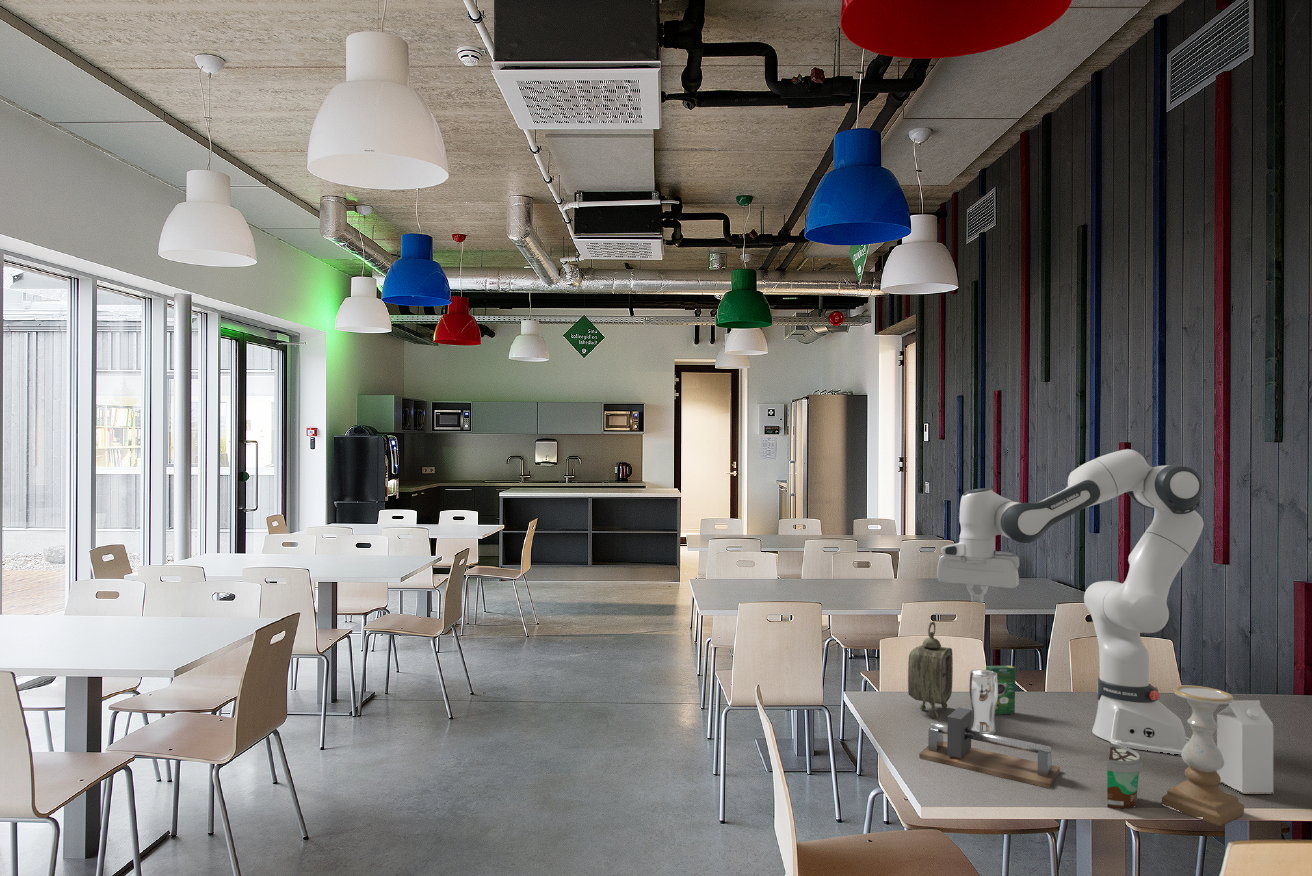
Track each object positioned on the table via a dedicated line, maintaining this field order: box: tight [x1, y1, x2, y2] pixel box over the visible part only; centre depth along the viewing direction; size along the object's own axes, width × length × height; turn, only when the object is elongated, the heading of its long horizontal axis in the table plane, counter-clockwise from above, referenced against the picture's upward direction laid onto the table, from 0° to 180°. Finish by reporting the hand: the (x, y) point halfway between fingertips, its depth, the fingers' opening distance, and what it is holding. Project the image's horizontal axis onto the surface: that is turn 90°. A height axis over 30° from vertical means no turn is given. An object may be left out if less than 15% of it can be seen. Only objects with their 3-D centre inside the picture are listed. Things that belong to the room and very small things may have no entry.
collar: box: [946, 706, 972, 759], centre depth 190 cm, size 3×9×9 cm, turn 144°
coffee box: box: [985, 665, 1017, 716], centre depth 224 cm, size 8×3×13 cm, turn 103°
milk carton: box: [1216, 699, 1274, 793], centre depth 175 cm, size 7×7×19 cm
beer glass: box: [968, 668, 998, 735], centre depth 209 cm, size 7×7×15 cm
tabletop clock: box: [907, 621, 954, 719], centre depth 225 cm, size 14×9×25 cm, turn 148°
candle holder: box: [1161, 684, 1245, 827], centre depth 163 cm, size 11×11×24 cm
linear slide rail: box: [927, 721, 1053, 777], centre depth 186 cm, size 26×5×6 cm, turn 54°
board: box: [918, 740, 1061, 789], centre depth 186 cm, size 28×12×1 cm, turn 54°
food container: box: [1106, 742, 1144, 810], centre depth 166 cm, size 12×6×10 cm, turn 148°
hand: (977, 601), depth 213 cm, fingers closed
